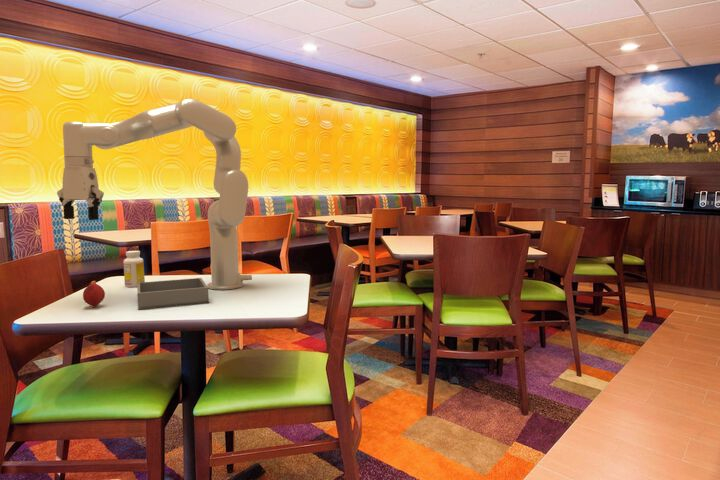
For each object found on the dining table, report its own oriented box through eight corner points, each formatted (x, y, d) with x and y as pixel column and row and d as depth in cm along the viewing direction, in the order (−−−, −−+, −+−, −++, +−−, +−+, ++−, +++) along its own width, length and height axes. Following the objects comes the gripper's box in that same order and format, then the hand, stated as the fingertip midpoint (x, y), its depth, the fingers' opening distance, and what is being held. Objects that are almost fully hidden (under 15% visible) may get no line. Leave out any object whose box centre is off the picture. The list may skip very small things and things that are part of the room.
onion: (95, 309, 143) (94, 283, 142) (79, 308, 144) (77, 282, 143) (109, 305, 148) (108, 279, 148) (93, 304, 150) (91, 278, 149)
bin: (201, 292, 167) (201, 277, 166) (208, 303, 150) (208, 287, 150) (138, 297, 158) (137, 282, 158) (138, 310, 142) (137, 293, 142)
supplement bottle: (145, 283, 182) (144, 249, 181) (143, 287, 176) (142, 252, 174) (126, 284, 180) (124, 250, 179) (123, 288, 174) (121, 252, 172)
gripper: (111, 163, 148) (113, 219, 150) (67, 164, 154) (70, 218, 155) (90, 162, 141) (93, 220, 143) (46, 162, 147) (48, 219, 148)
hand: (81, 219), depth 149 cm, fingers open, 9 cm apart
